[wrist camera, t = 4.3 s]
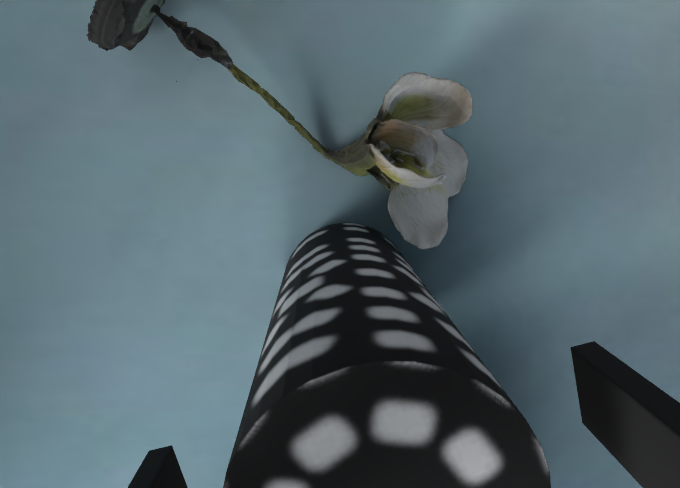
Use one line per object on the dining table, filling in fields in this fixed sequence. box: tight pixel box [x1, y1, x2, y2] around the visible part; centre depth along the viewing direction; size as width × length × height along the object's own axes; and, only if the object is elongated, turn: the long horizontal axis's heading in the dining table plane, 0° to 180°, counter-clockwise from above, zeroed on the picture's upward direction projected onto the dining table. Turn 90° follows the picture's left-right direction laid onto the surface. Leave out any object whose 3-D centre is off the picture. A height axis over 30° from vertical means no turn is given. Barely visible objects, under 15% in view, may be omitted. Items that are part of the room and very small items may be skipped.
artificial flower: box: [87, 0, 473, 249], centre depth 25 cm, size 9×22×10 cm, turn 55°
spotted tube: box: [223, 223, 551, 488], centre depth 21 cm, size 8×8×20 cm
